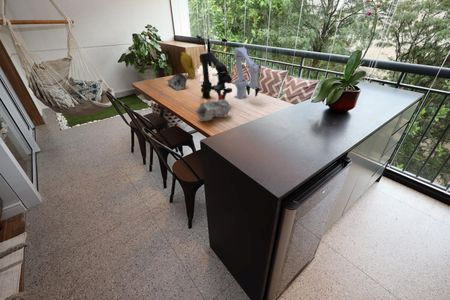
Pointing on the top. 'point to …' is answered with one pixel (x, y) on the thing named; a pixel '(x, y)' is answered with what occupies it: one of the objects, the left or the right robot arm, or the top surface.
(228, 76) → the left robot arm
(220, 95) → the brick
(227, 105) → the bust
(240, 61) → the right robot arm
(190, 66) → the sculpture
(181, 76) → the gray rock
